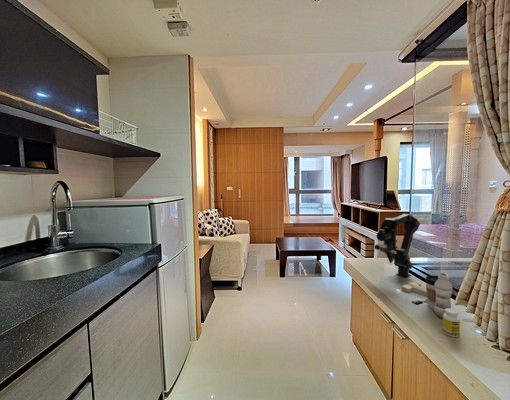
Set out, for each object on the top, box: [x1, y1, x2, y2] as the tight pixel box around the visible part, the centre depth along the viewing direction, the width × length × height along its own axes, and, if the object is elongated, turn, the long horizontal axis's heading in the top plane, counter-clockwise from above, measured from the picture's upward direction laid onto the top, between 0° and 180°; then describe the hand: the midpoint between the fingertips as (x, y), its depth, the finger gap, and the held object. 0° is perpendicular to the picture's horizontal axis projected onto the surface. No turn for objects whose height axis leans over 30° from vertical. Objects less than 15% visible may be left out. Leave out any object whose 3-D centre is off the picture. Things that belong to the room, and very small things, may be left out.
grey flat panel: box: [376, 275, 428, 302], centre depth 138 cm, size 14×30×1 cm, turn 26°
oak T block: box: [401, 281, 427, 296], centre depth 132 cm, size 12×12×2 cm
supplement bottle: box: [442, 308, 461, 338], centre depth 96 cm, size 5×5×10 cm
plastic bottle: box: [433, 272, 453, 319], centre depth 107 cm, size 6×7×20 cm
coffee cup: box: [424, 275, 439, 310], centre depth 115 cm, size 8×8×15 cm
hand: (390, 262), depth 147 cm, fingers closed
